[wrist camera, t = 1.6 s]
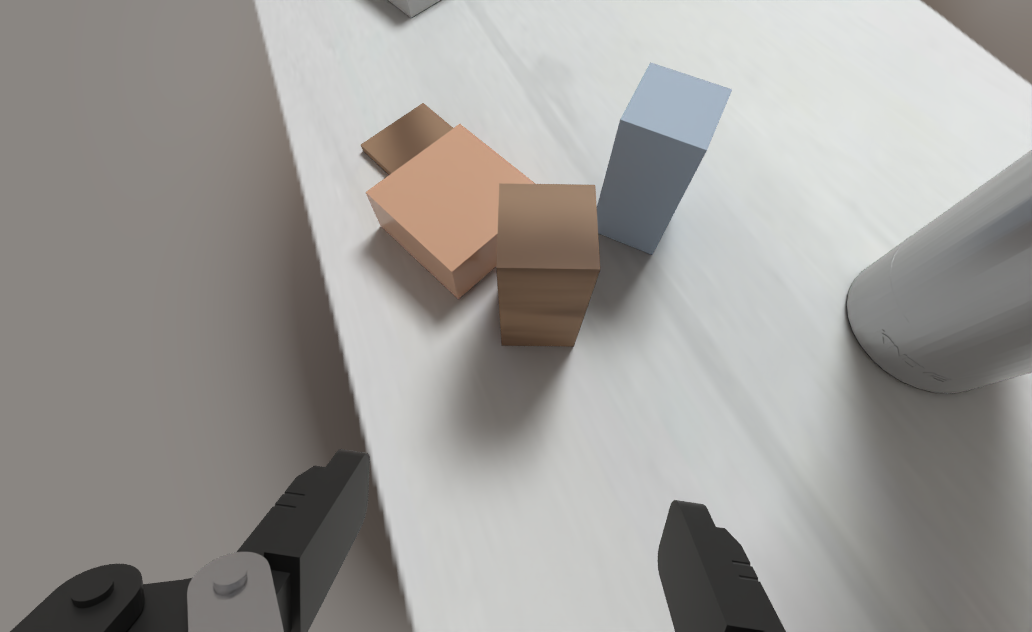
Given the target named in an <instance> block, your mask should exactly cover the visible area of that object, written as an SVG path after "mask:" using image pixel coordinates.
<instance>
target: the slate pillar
mask: <svg viewBox="0 0 1032 632" xmlns="http://www.w3.org/2000/svg"><path fill="white" fill-rule="evenodd" d="M731 91H732V89H729V88H726V87H723V86H720V85H717V84H714V83H711V82H708V81H705V80H702V79H699V78H696V77H693V76H690V75H687V74H684V73H681V72H678V71H675V70H672V69H669V68H666V67H663V66H660V65H657V64H654V63H651V62H650V64H649V66H648V68H647V70H646V72H645V74H644V75H643V77H642V79H641V81H640V83H639V85H638V87H637V89H636V91H635V93H634V94H633V96H632V98H631V100H630V102H629V104H628V106H627V108H626V110H625V112H624V113H623V115H622V117H621V119H620V123H619V126H618V130H617V134H616V138H615V141H614V145H613V149H612V153H611V156H610V160H609V164H608V168H607V171H606V175H605V179H604V183H603V187H602V190H601V194H600V198H599V202H598V205H597V223H598V233H599V234H601V235H604V236H606V237H609V238H611V239H614V240H616V241H619V242H621V243H624V244H626V245H629V246H631V247H634V248H636V249H639V250H641V251H644V252H646V253H648V254H651V255H652V254H653V252H654V250H655V249H656V247H657V245H658V243H659V241H660V239H661V237H662V235H663V233H664V231H665V229H666V227H667V226H668V224H669V222H670V220H671V218H672V216H673V214H674V212H675V210H676V208H677V206H678V204H679V203H680V201H681V199H682V197H683V195H684V193H685V191H686V189H687V187H688V185H689V183H690V181H691V180H692V178H693V176H694V174H695V172H696V170H697V168H698V166H699V164H700V162H701V160H702V158H703V157H704V155H705V153H706V151H707V149H708V146H709V144H710V141H711V139H712V137H713V134H714V132H715V129H716V127H717V125H718V122H719V120H720V117H721V115H722V113H723V110H724V108H725V105H726V103H727V101H728V98H729V96H730V93H731Z"/></svg>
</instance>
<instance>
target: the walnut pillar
mask: <svg viewBox="0 0 1032 632" xmlns="http://www.w3.org/2000/svg"><path fill="white" fill-rule="evenodd" d="M496 269H497V284H498V298H499V313H500V328H501V343H502V345H506V346H571V347H574V344H575V341H576V338H577V335H578V333H579V330H580V327H581V324H582V321H583V318H584V315H585V312H586V309H587V307H588V304H589V301H590V298H591V295H592V292H593V289H594V286H595V283H596V281H597V278H598V275H599V272H600V255H599V239H598V223H597V207H596V191H595V185H567V184H500V183H499V208H498V236H497V265H496Z"/></svg>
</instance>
